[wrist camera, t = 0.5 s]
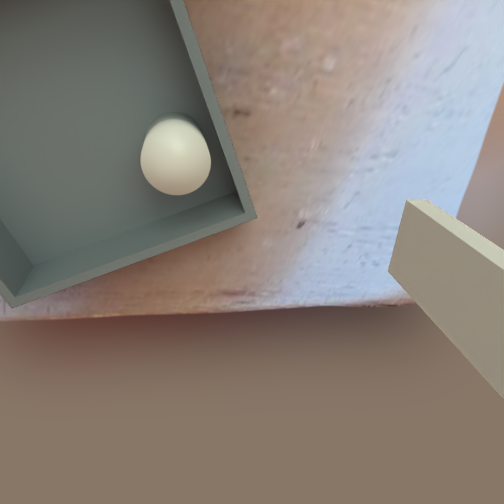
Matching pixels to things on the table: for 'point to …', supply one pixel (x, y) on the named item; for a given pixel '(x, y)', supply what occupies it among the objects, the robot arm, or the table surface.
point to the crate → (100, 140)
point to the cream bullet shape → (175, 154)
